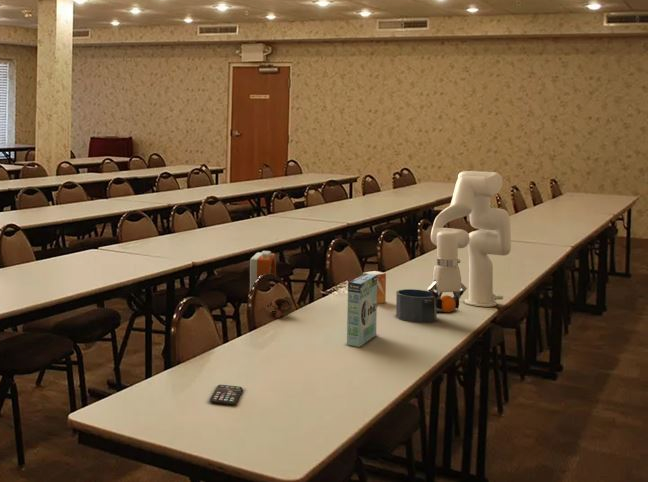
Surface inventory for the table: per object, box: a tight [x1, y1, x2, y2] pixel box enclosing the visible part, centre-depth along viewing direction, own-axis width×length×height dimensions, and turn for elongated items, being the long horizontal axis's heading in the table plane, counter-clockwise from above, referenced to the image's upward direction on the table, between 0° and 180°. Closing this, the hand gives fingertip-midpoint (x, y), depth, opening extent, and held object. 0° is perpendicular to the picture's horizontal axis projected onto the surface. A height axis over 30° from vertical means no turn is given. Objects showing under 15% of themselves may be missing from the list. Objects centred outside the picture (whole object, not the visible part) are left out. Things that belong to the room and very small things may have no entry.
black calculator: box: [209, 384, 243, 406], centre depth 242 cm, size 7×1×15 cm
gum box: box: [346, 272, 378, 348], centre depth 301 cm, size 20×5×23 cm, turn 144°
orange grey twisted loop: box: [270, 297, 293, 319], centre depth 337 cm, size 12×10×8 cm
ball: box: [440, 294, 456, 313], centre depth 325 cm, size 6×6×6 cm
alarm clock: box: [249, 250, 277, 292], centre depth 373 cm, size 18×9×21 cm, turn 160°
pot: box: [395, 288, 438, 324], centre depth 334 cm, size 15×21×10 cm
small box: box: [362, 270, 387, 305], centre depth 362 cm, size 8×6×13 cm
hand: (447, 307), depth 325 cm, fingers closed on ball, 6 cm apart
